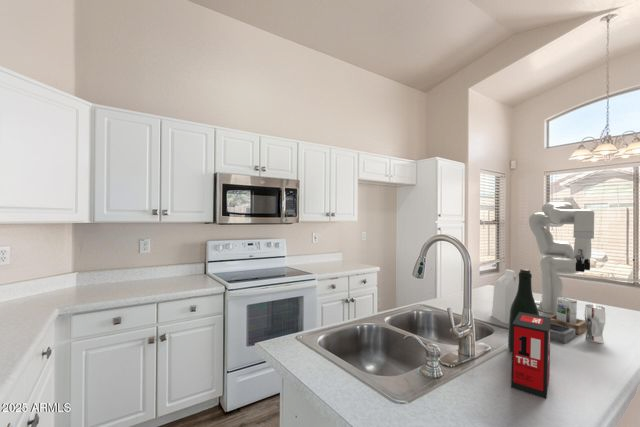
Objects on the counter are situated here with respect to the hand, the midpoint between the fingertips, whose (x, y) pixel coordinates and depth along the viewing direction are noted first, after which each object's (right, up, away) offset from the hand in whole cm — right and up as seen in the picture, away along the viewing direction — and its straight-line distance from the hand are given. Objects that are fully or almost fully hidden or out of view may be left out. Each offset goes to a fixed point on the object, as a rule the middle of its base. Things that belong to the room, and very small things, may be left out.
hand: (582, 270), depth 148 cm
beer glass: (-6, -29, -13) cm, 32 cm away
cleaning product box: (-59, -27, -49) cm, 81 cm away
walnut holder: (-7, -29, +1) cm, 29 cm away
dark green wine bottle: (-47, -28, -27) cm, 61 cm away
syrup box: (-7, -29, +1) cm, 30 cm away
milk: (-28, -28, +13) cm, 42 cm away
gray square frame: (-21, -28, -8) cm, 36 cm away
